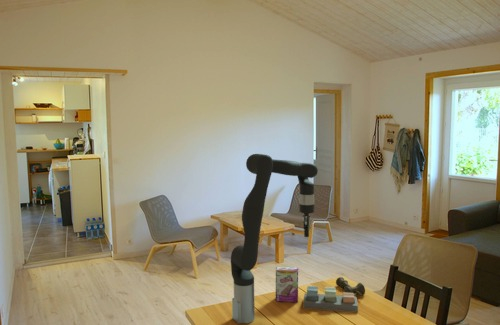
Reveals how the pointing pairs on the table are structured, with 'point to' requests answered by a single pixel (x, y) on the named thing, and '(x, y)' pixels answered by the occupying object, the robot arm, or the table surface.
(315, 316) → the table surface
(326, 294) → the sage block
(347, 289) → the kendama
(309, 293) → the slate-blue block
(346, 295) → the terracotta block
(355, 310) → the charcoal board
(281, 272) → the candy bar box
